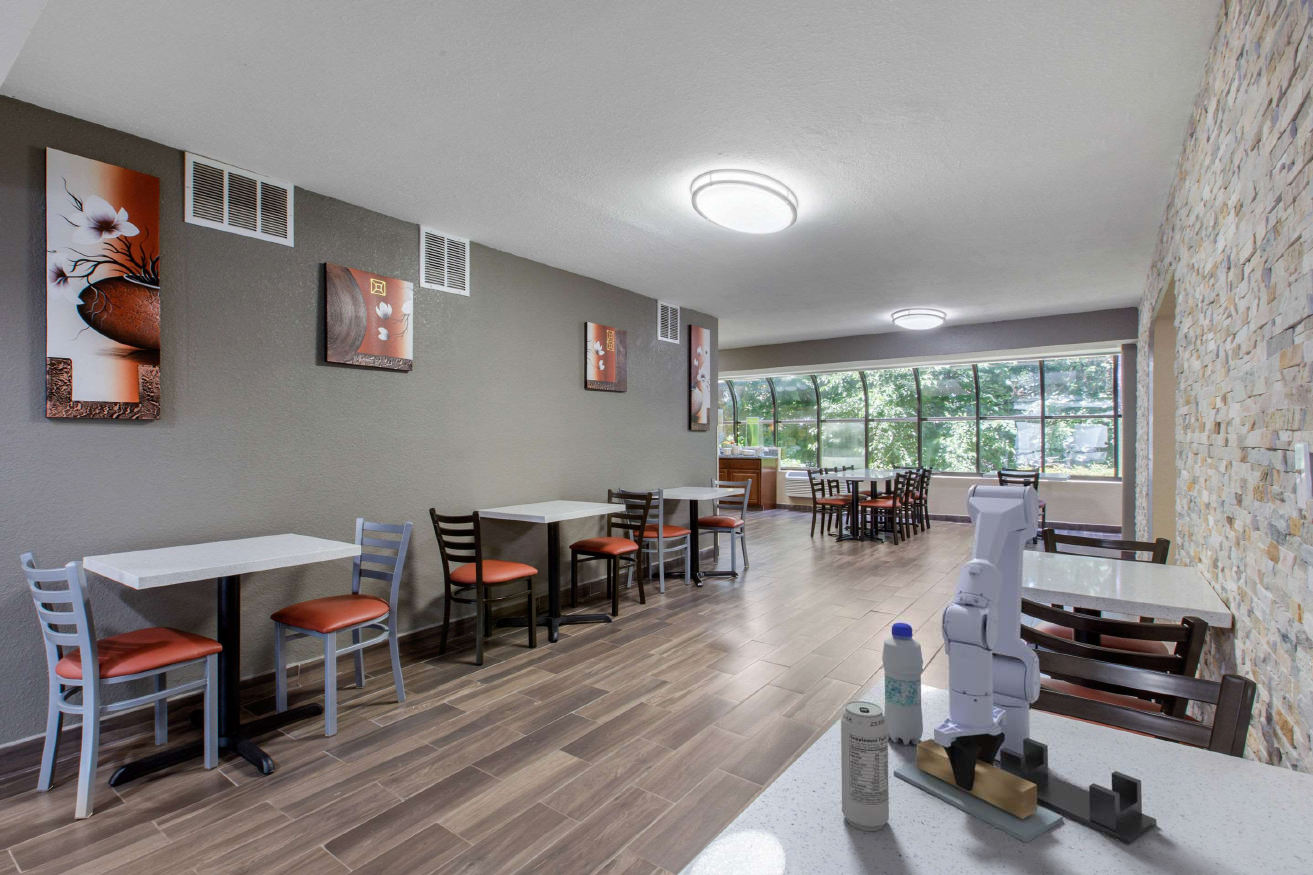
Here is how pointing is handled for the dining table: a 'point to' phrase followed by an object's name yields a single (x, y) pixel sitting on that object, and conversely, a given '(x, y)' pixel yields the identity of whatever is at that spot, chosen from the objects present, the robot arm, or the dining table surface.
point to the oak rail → (982, 780)
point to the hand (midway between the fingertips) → (972, 783)
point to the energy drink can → (864, 766)
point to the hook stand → (1082, 795)
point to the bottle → (903, 685)
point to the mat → (981, 805)
